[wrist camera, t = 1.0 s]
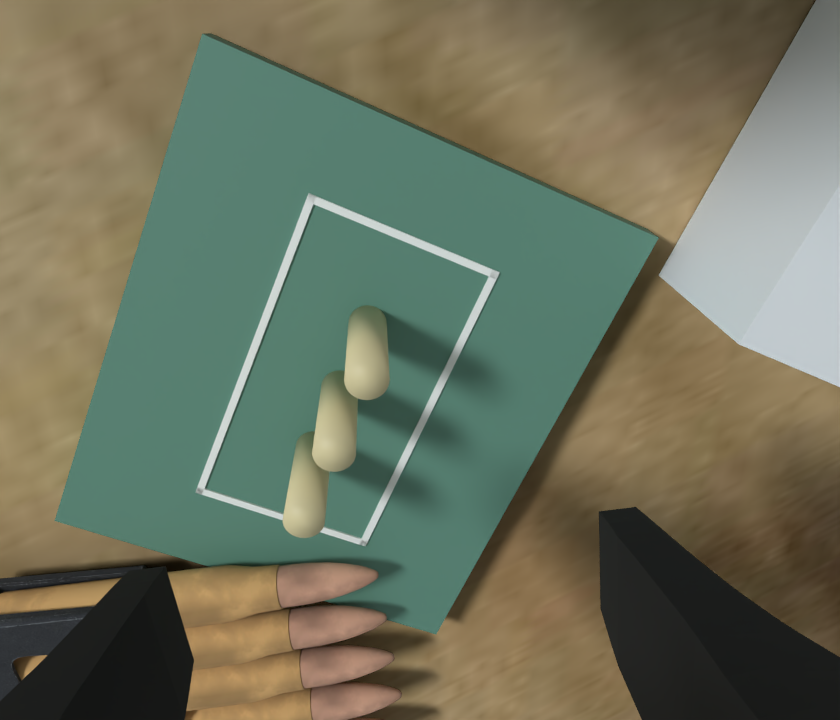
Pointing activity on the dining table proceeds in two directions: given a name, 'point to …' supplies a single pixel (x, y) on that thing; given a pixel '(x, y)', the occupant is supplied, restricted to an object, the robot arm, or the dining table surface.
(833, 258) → the block
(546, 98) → the dining table surface
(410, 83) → the dining table surface
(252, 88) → the board
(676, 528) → the dining table surface
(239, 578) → the ammunition clip
